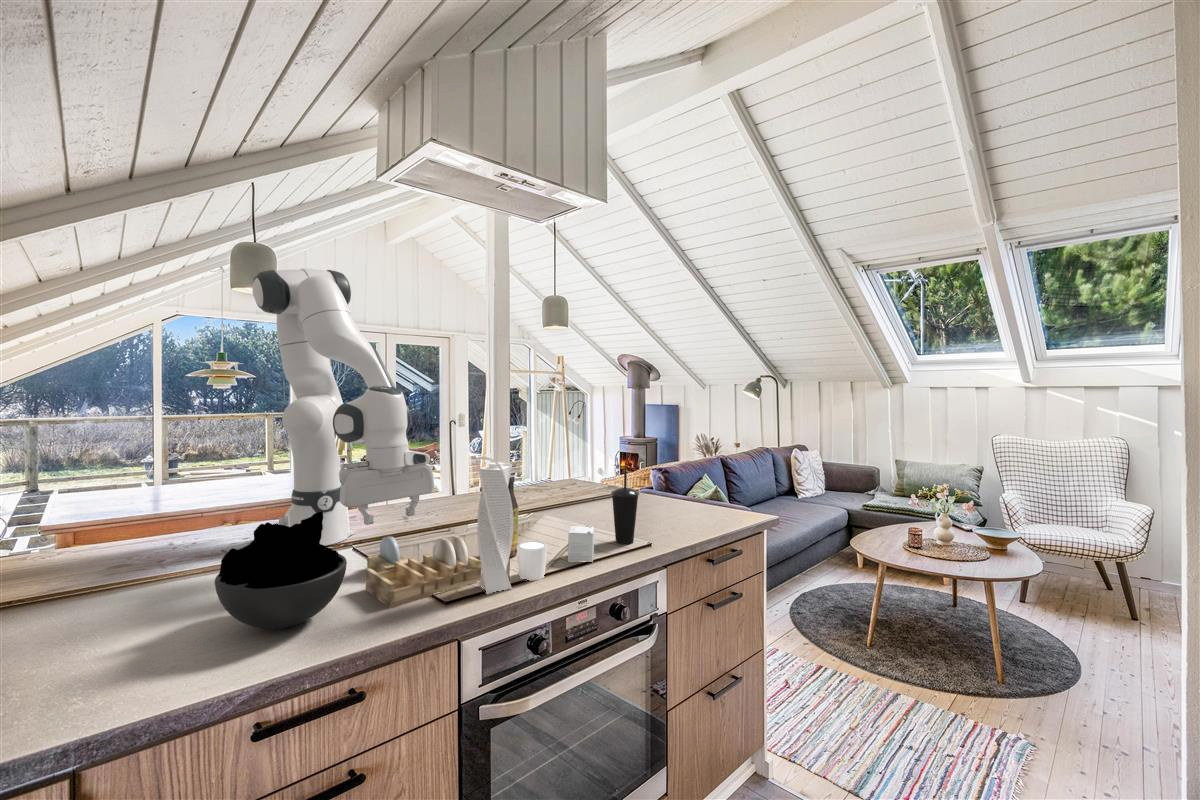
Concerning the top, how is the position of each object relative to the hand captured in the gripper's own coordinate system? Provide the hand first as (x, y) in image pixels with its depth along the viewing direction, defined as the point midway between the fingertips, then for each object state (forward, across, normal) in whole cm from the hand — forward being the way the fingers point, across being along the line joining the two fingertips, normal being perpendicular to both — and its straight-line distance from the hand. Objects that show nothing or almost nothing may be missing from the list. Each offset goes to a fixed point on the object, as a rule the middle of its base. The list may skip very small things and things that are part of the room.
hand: (390, 519), depth 120 cm
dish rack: (+12, +2, -12) cm, 17 cm away
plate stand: (+12, 0, +1) cm, 12 cm away
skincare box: (+14, +38, -22) cm, 46 cm away
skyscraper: (+13, +12, -23) cm, 29 cm away
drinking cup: (+14, +56, -20) cm, 61 cm away
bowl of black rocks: (+12, -24, -12) cm, 30 cm away
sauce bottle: (+13, +26, -7) cm, 30 cm away
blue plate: (+12, 0, +1) cm, 12 cm away
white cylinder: (+13, +22, -23) cm, 34 cm away
